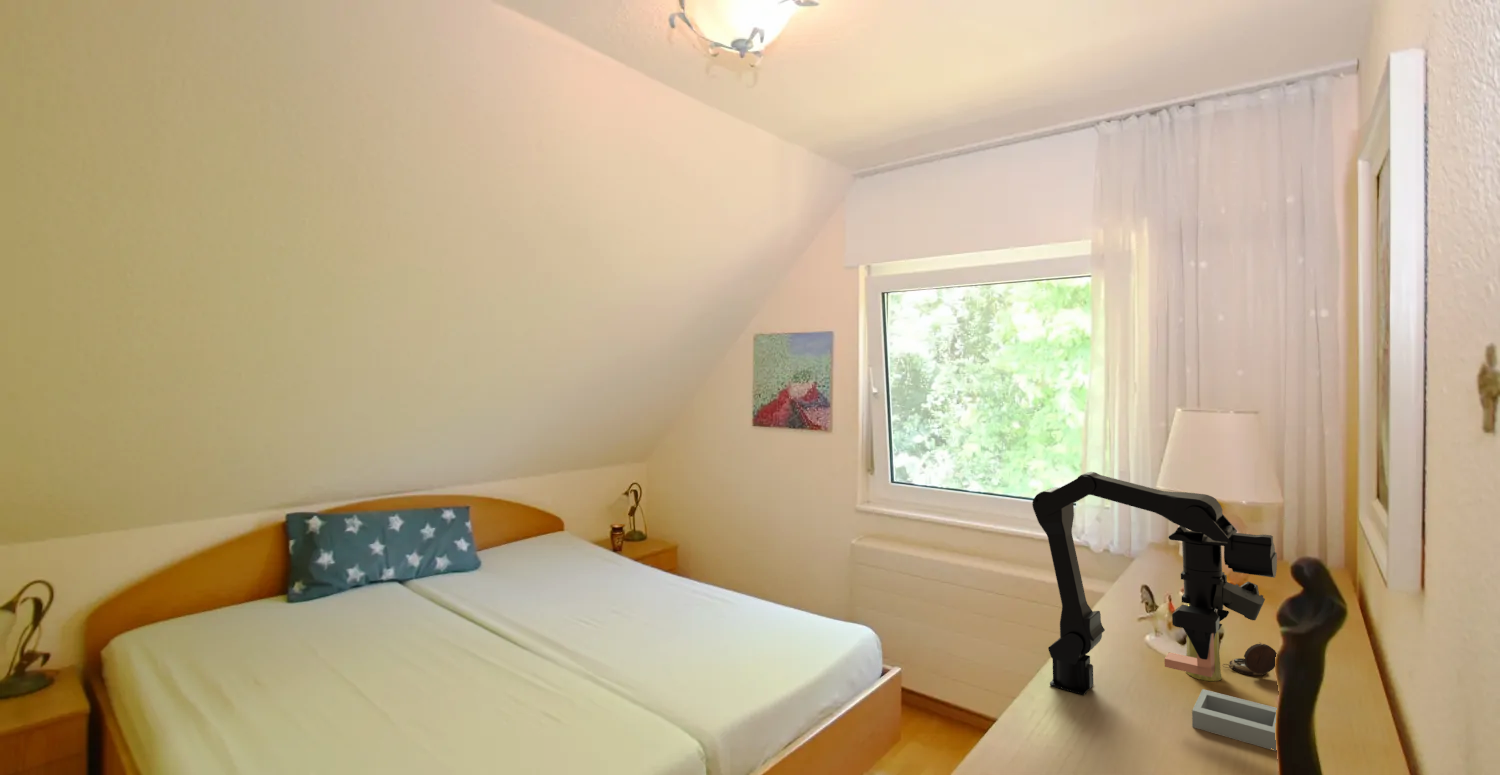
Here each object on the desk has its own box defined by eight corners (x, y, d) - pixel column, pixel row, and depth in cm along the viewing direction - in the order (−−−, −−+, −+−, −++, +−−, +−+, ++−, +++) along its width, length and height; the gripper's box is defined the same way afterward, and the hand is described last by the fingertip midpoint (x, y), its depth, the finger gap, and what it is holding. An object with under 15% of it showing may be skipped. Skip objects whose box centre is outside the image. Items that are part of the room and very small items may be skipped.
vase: (1227, 682, 133) (1226, 612, 132) (1193, 681, 134) (1192, 610, 134) (1212, 669, 139) (1211, 601, 138) (1180, 667, 140) (1179, 600, 140)
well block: (1192, 727, 118) (1192, 710, 117) (1202, 704, 125) (1202, 688, 125) (1279, 751, 109) (1278, 733, 109) (1284, 726, 117) (1284, 709, 117)
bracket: (1214, 670, 118) (1213, 631, 118) (1211, 677, 116) (1209, 637, 116) (1169, 660, 123) (1167, 622, 123) (1164, 666, 121) (1163, 628, 120)
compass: (1252, 663, 141) (1251, 629, 141) (1279, 680, 133) (1279, 644, 133) (1213, 663, 142) (1212, 629, 141) (1238, 681, 134) (1237, 645, 133)
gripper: (1251, 589, 105) (1255, 687, 105) (1266, 562, 119) (1269, 649, 119) (1169, 577, 113) (1173, 669, 113) (1192, 553, 126) (1195, 634, 127)
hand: (1205, 655), depth 118 cm, fingers closed on bracket, 3 cm apart
